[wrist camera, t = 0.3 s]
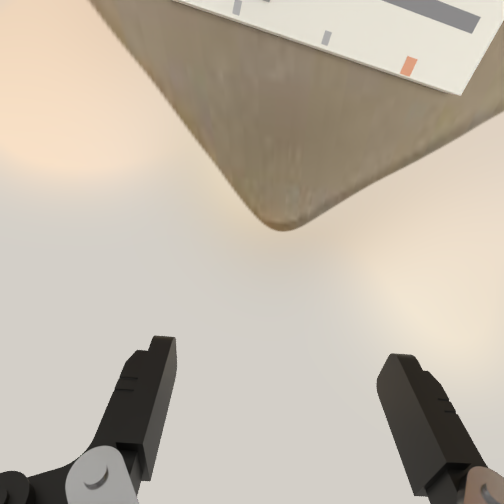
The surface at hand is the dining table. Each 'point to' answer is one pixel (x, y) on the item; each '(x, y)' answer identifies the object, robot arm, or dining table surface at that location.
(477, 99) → the dining table surface
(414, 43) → the fader console
